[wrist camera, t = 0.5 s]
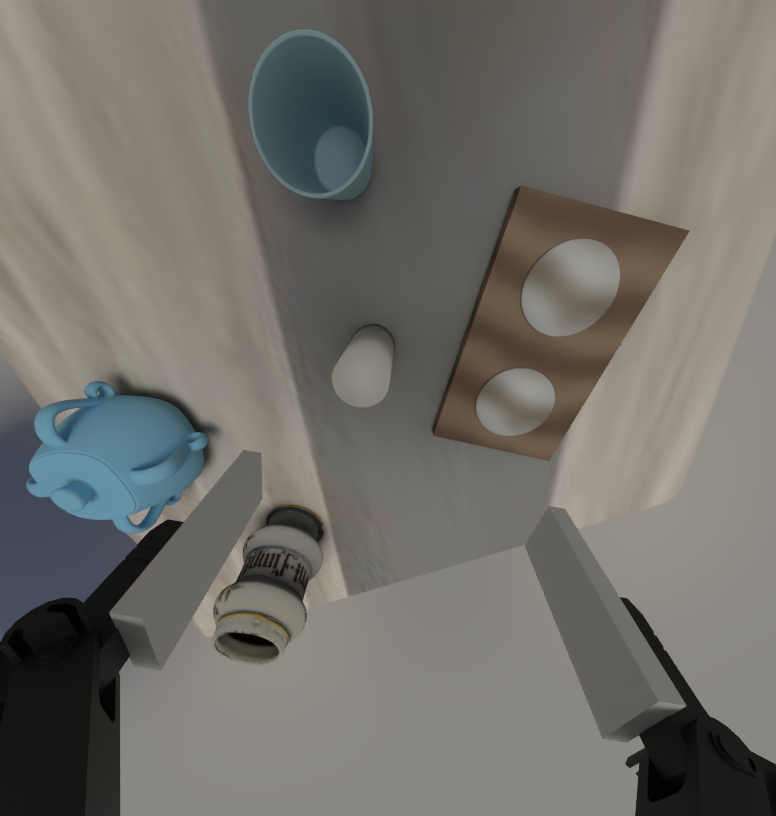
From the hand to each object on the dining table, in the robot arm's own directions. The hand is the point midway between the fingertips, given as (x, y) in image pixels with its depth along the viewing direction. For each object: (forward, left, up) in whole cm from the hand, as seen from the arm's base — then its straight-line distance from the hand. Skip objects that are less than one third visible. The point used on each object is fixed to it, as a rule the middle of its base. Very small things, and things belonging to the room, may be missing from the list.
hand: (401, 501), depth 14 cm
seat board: (-3, +14, -24) cm, 28 cm away
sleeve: (+1, -4, -24) cm, 25 cm away
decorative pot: (+21, -32, -25) cm, 45 cm away
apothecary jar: (+35, -11, -25) cm, 44 cm away
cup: (-15, -10, -25) cm, 30 cm away
